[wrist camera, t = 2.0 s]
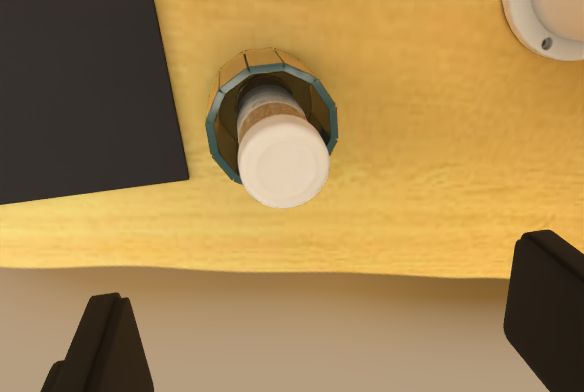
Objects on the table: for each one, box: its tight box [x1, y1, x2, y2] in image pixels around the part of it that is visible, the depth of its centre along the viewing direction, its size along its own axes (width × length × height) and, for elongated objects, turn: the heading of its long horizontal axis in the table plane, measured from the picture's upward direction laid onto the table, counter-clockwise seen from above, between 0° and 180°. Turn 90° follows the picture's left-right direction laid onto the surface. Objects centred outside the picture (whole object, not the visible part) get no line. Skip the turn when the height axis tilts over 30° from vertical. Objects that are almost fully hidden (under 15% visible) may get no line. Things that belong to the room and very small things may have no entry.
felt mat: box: [0, 0, 189, 205], centre depth 32 cm, size 17×14×1 cm
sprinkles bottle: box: [235, 75, 330, 209], centre depth 29 cm, size 5×5×13 cm
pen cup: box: [205, 48, 338, 185], centre depth 32 cm, size 8×8×7 cm
